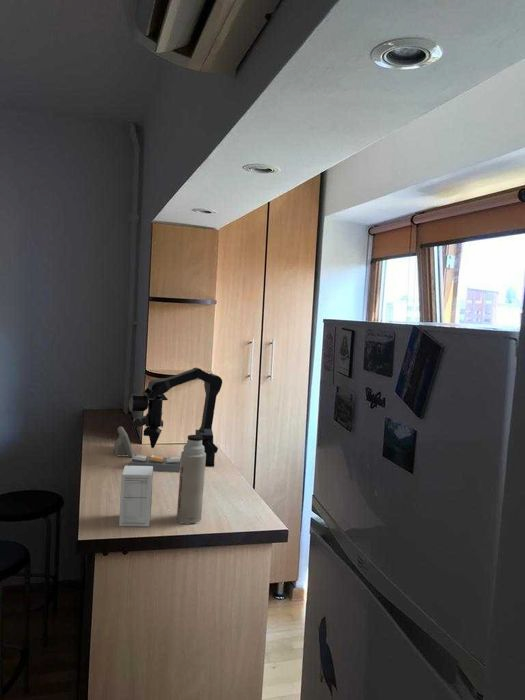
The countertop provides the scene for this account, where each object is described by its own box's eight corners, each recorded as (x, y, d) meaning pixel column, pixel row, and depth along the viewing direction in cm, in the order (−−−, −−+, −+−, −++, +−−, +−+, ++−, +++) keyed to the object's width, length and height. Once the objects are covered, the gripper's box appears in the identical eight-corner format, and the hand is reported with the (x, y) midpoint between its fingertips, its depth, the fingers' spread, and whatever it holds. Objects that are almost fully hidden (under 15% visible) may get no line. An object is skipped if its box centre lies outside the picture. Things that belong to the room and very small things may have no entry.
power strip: (181, 465, 237) (181, 457, 237) (179, 472, 227) (180, 465, 227) (133, 462, 235) (134, 455, 235) (130, 469, 225) (130, 462, 225)
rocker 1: (145, 459, 230) (146, 456, 230) (145, 461, 227) (145, 458, 227) (133, 456, 229) (134, 453, 229) (132, 458, 226) (133, 455, 226)
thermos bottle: (175, 523, 177) (181, 438, 174) (177, 514, 185) (183, 432, 182) (200, 524, 177) (207, 440, 175) (201, 515, 185) (207, 433, 183)
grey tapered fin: (133, 458, 240) (135, 435, 239) (112, 458, 239) (113, 434, 238) (134, 448, 256) (136, 426, 255) (114, 447, 254) (116, 425, 253)
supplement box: (151, 515, 182) (154, 465, 180) (149, 527, 173) (152, 474, 171) (121, 514, 180) (124, 464, 179) (118, 526, 171) (121, 473, 170)
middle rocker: (162, 459, 231) (163, 456, 230) (162, 462, 228) (162, 459, 227) (150, 457, 230) (151, 454, 230) (149, 459, 227) (150, 456, 227)
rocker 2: (180, 459, 231) (179, 456, 231) (179, 461, 228) (179, 458, 228) (167, 460, 231) (167, 457, 231) (166, 462, 228) (166, 459, 228)
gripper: (138, 404, 235) (136, 440, 237) (131, 414, 217) (129, 453, 218) (164, 406, 236) (162, 442, 238) (160, 416, 218) (157, 454, 219)
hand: (152, 447), depth 228 cm, fingers closed
